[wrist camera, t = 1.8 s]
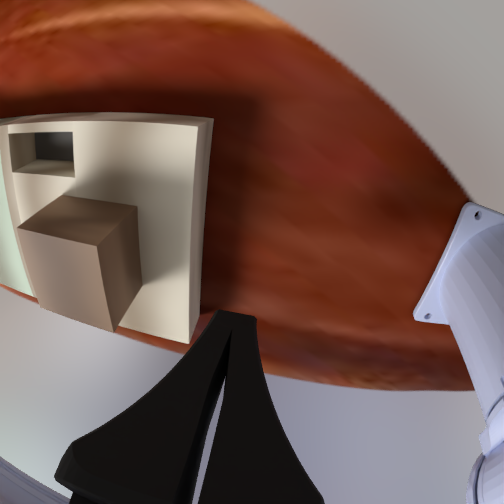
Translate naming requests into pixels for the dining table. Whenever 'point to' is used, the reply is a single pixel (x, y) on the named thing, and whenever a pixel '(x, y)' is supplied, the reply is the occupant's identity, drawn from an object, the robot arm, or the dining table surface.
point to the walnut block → (84, 259)
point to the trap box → (116, 198)
